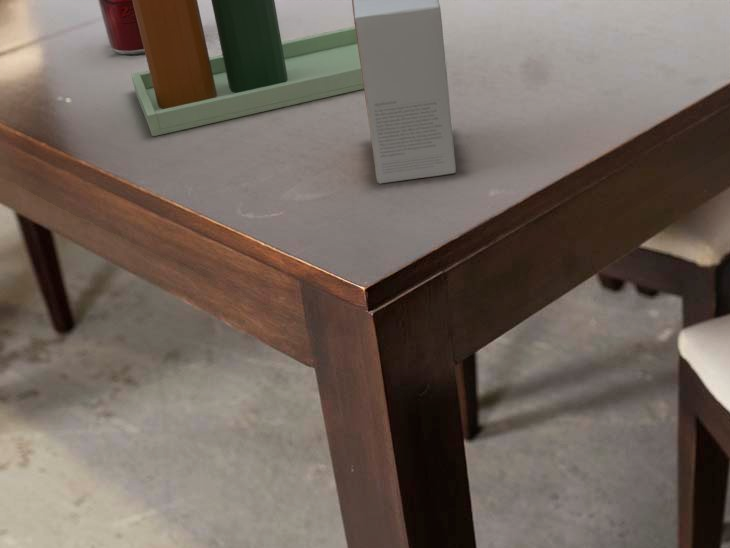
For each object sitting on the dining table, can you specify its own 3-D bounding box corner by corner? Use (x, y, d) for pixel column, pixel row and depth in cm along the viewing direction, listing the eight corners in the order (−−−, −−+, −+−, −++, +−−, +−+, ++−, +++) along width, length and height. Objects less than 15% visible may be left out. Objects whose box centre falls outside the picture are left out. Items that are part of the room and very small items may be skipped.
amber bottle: (163, 120, 103) (122, -48, 94) (155, 101, 107) (116, -60, 98) (222, 107, 104) (187, -60, 95) (211, 89, 108) (177, -72, 100)
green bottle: (236, 104, 104) (203, -63, 95) (225, 86, 108) (193, -75, 100) (294, 91, 105) (266, -75, 96) (280, 73, 109) (253, -87, 101)
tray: (152, 136, 99) (147, 115, 98) (135, 93, 110) (131, 74, 108) (420, 76, 104) (418, 55, 103) (380, 40, 114) (378, 21, 113)
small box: (371, 144, 92) (349, -15, 85) (446, 134, 92) (432, -26, 84) (375, 185, 85) (353, 16, 78) (457, 174, 85) (442, 4, 78)
